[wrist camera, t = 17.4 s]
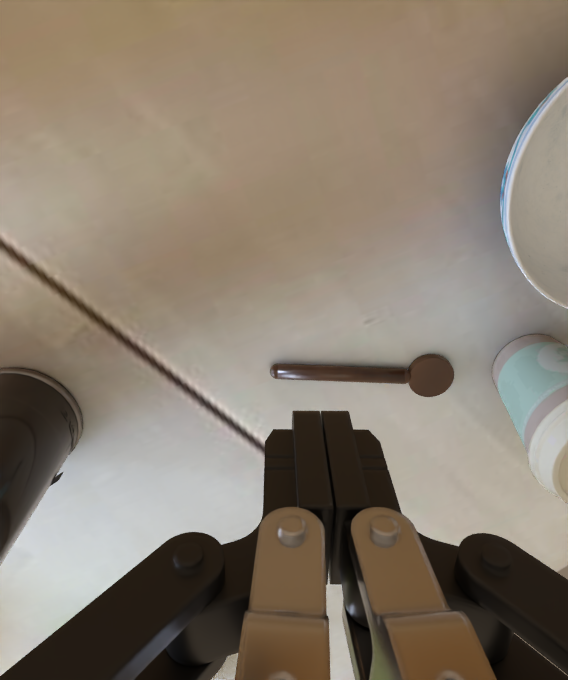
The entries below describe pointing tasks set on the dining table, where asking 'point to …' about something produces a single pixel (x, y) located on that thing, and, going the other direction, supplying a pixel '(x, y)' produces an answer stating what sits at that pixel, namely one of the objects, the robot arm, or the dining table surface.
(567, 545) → the dining table surface
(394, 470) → the dining table surface
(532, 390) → the coffee cup
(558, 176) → the chinaware
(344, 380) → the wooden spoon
